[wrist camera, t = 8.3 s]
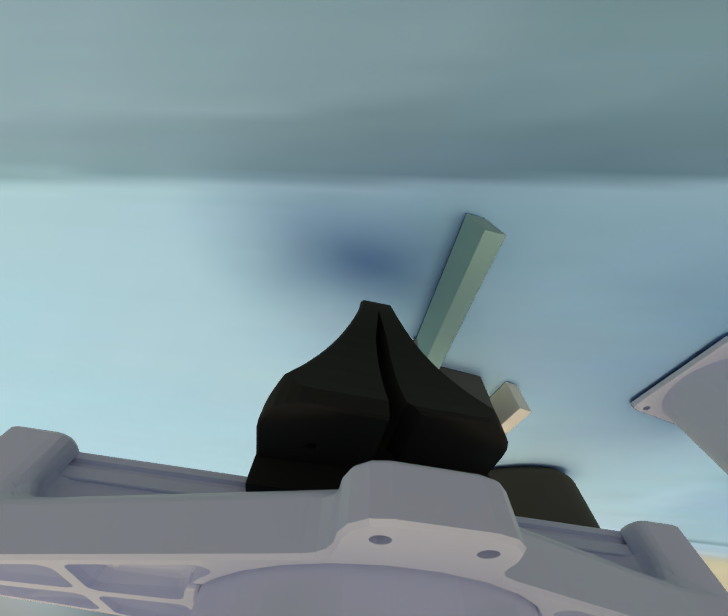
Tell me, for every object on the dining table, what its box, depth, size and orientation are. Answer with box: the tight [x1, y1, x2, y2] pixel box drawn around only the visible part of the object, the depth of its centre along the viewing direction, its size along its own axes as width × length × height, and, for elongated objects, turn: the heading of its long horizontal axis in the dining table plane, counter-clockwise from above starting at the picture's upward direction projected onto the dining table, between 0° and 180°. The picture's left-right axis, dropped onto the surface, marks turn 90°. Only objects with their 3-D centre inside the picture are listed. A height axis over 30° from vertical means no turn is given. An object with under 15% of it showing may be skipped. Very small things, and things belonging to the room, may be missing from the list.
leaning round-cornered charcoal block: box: [488, 467, 601, 529], centre depth 26 cm, size 16×5×9 cm, turn 118°
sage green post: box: [414, 214, 506, 369], centre depth 16 cm, size 10×1×3 cm, turn 168°
